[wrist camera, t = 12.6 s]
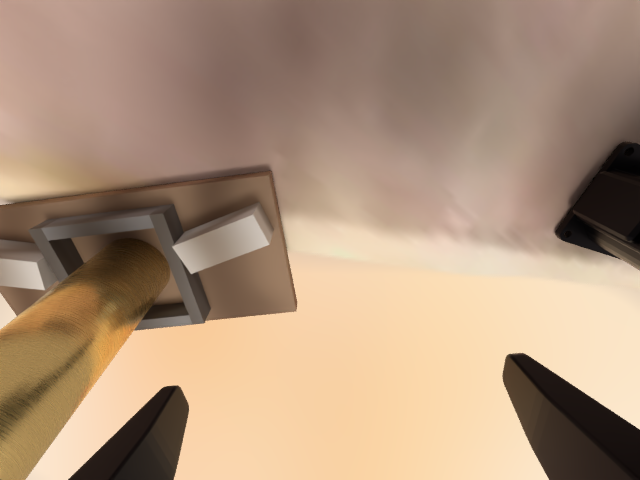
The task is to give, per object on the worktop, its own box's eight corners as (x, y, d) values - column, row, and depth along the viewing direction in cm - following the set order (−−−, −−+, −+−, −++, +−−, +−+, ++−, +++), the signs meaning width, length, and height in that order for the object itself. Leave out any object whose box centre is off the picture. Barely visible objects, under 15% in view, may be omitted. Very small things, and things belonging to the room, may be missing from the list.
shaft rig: (271, 170, 19) (263, 185, 17) (297, 302, 24) (294, 331, 21) (-38, 210, 20) (-92, 229, 18) (43, 329, 25) (10, 359, 22)
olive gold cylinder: (181, 261, 21) (29, 467, 10) (153, 305, 22) (-6, 526, 11) (116, 225, 20) (-143, 413, 9) (91, 274, 21) (-157, 487, 10)
